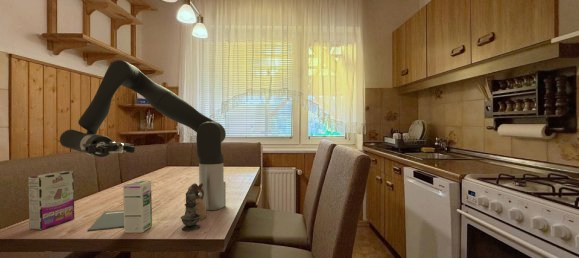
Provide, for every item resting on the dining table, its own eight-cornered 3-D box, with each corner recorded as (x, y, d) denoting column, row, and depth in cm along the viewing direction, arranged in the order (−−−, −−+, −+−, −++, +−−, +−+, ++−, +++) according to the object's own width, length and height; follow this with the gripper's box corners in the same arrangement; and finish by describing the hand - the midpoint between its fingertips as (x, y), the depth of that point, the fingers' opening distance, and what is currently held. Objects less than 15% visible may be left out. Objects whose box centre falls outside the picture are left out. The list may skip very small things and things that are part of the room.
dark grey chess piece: (180, 226, 91) (180, 188, 91) (199, 223, 93) (199, 186, 93) (181, 232, 86) (181, 192, 86) (201, 229, 88) (201, 190, 88)
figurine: (189, 215, 103) (188, 181, 103) (208, 215, 103) (208, 181, 103) (180, 221, 96) (180, 185, 96) (202, 221, 96) (202, 185, 96)
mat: (104, 212, 106) (104, 211, 106) (138, 209, 110) (138, 208, 110) (87, 231, 87) (87, 229, 87) (129, 226, 91) (129, 225, 91)
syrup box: (142, 233, 85) (142, 183, 85) (123, 233, 85) (122, 183, 85) (152, 226, 91) (152, 180, 91) (133, 226, 91) (133, 180, 91)
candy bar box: (62, 218, 100) (62, 170, 99) (75, 219, 99) (74, 171, 98) (27, 229, 89) (27, 175, 88) (40, 230, 88) (40, 176, 87)
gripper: (73, 134, 97) (96, 139, 88) (118, 134, 109) (142, 138, 100) (72, 156, 97) (95, 163, 88) (117, 154, 109) (140, 160, 100)
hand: (119, 150), depth 94 cm, fingers open, 8 cm apart
